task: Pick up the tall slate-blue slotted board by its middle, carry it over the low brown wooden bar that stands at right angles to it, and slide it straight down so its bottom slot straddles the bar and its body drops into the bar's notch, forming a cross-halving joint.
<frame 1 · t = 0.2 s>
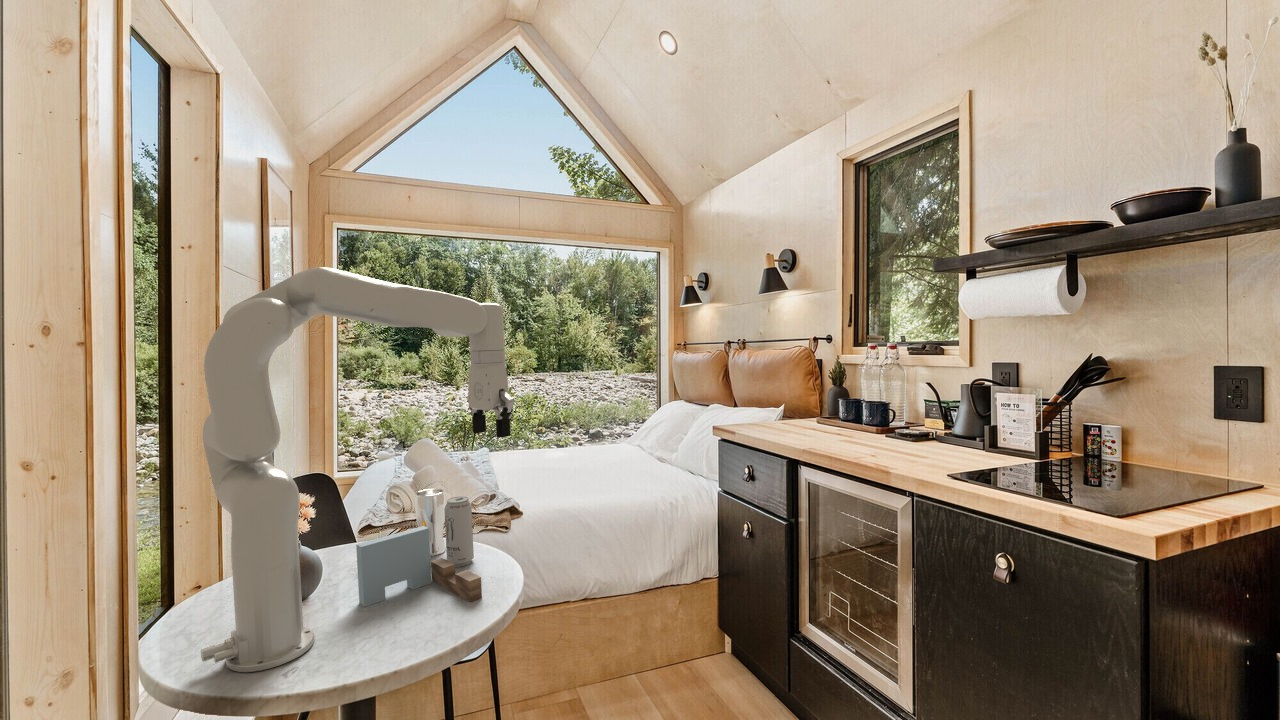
hand: (491, 434, 128), 31 cm above the table, fingers open, 9 cm apart
shiny metal tumbler: (432, 552, 141), on the table
bread roll: (381, 571, 131), on the table
blue board: (396, 592, 119), on the table
brown wooden bar: (455, 588, 120), on the table
energy drink can: (460, 563, 134), on the table
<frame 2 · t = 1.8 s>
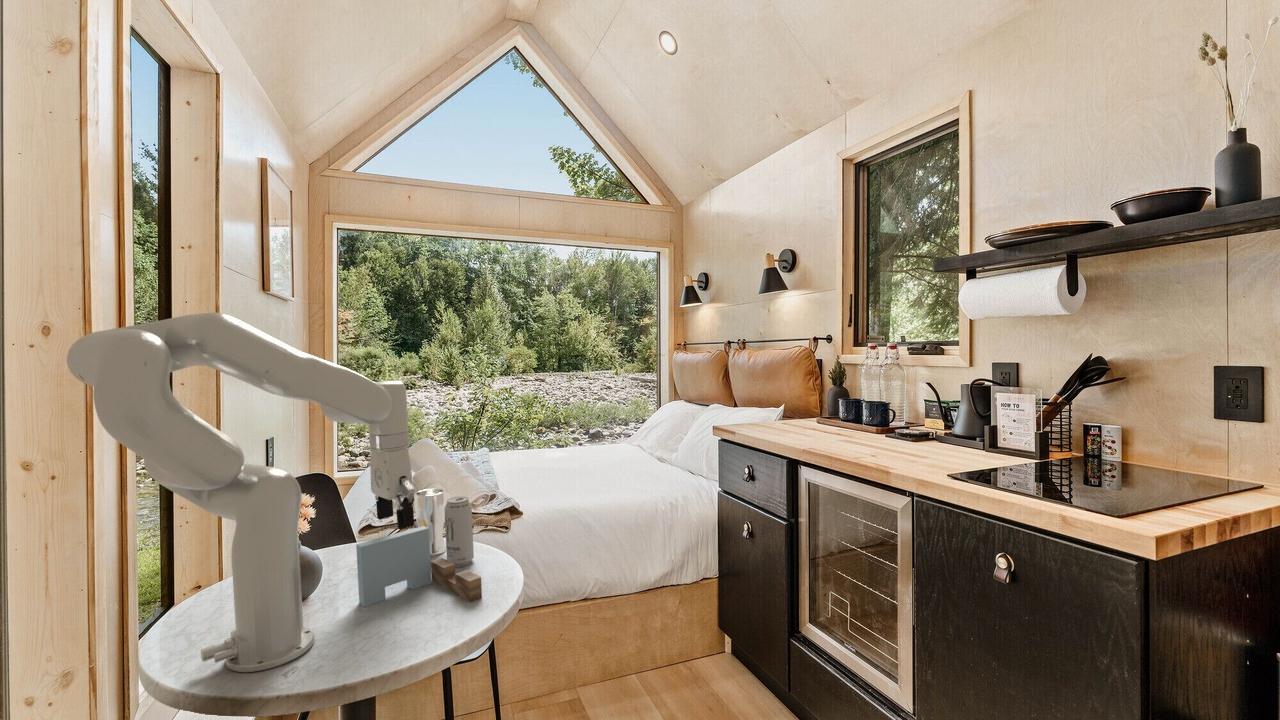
hand: (395, 522, 119), 15 cm above the table, fingers open, 9 cm apart
nothing on the table moved.
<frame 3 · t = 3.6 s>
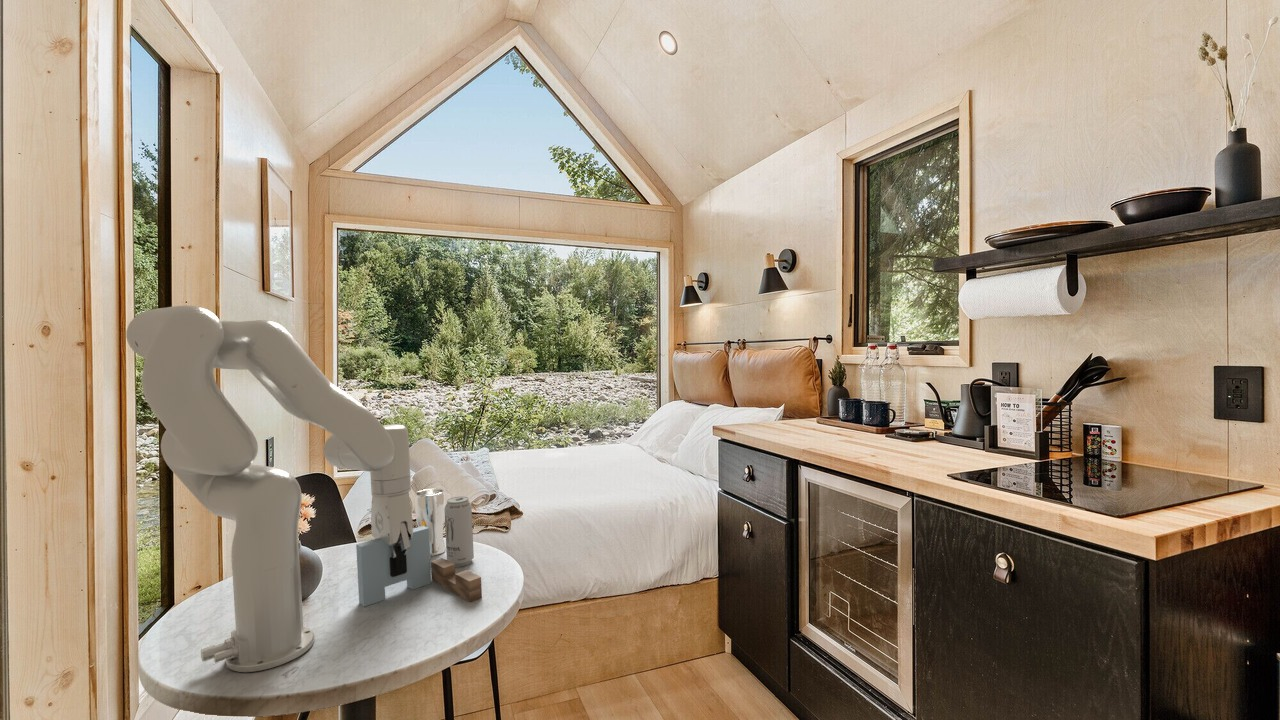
hand: (395, 572, 119), 4 cm above the table, fingers closed on blue board, 2 cm apart
blue board: (396, 592, 119), on the table, touching gripper
everything else where it was.
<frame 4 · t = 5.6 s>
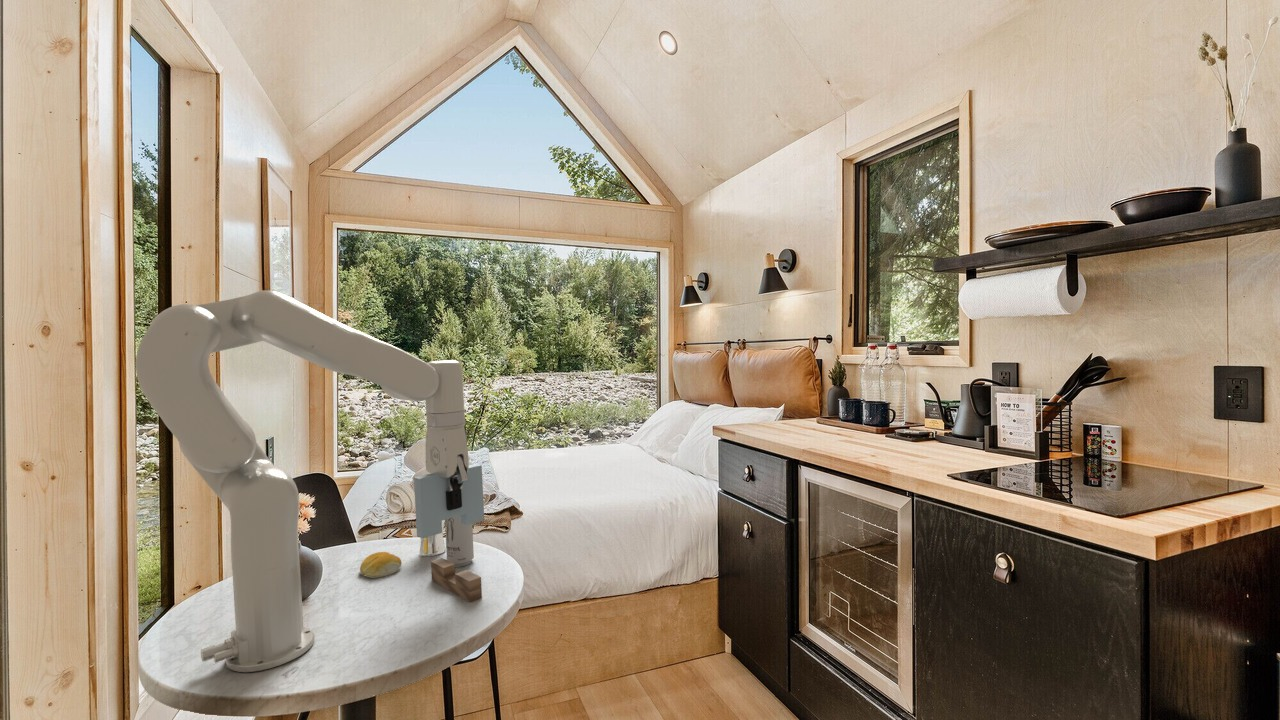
hand: (450, 506, 119), 17 cm above the table, fingers closed on blue board
blue board: (451, 527, 119), point 13 cm above the table, touching gripper
everything else where it was.
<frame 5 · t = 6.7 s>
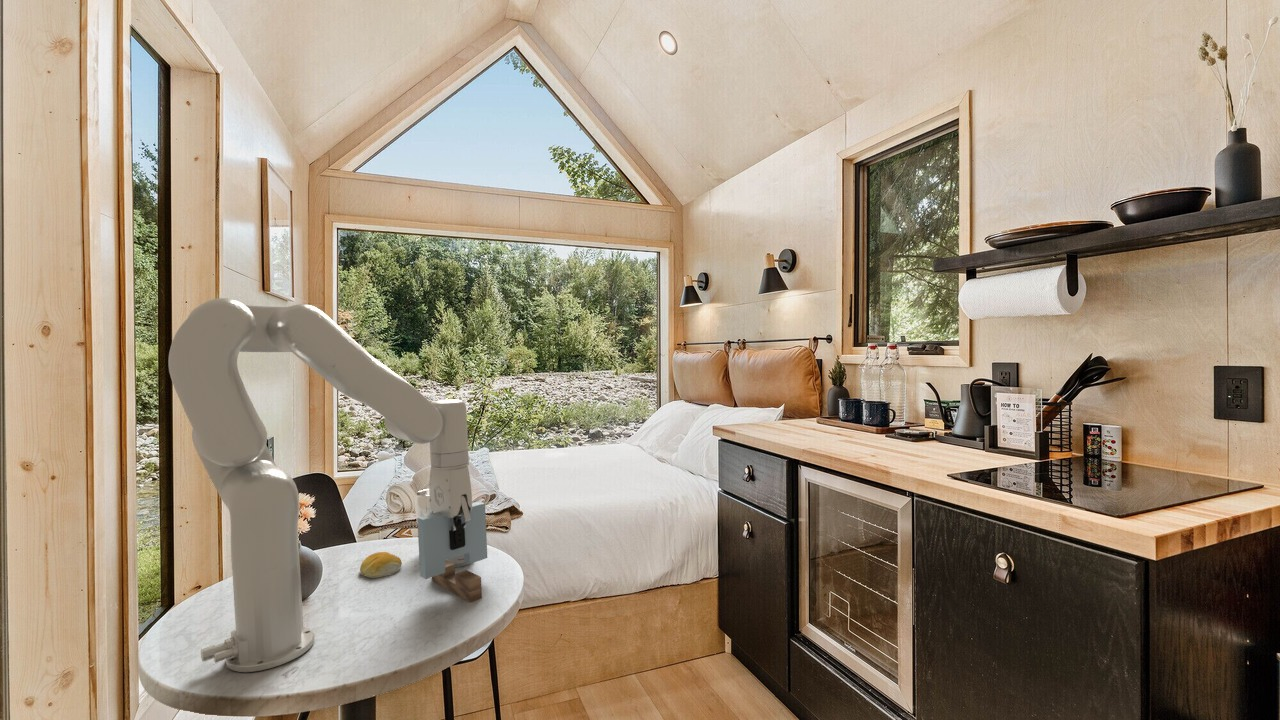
hand: (453, 545, 119), 9 cm above the table, fingers closed on blue board, 2 cm apart
blue board: (455, 566, 120), point 5 cm above the table, touching gripper
everything else where it was.
when the fingers open (6 cm above the table, at t = 7.6 s): blue board stays where it is, on the table.
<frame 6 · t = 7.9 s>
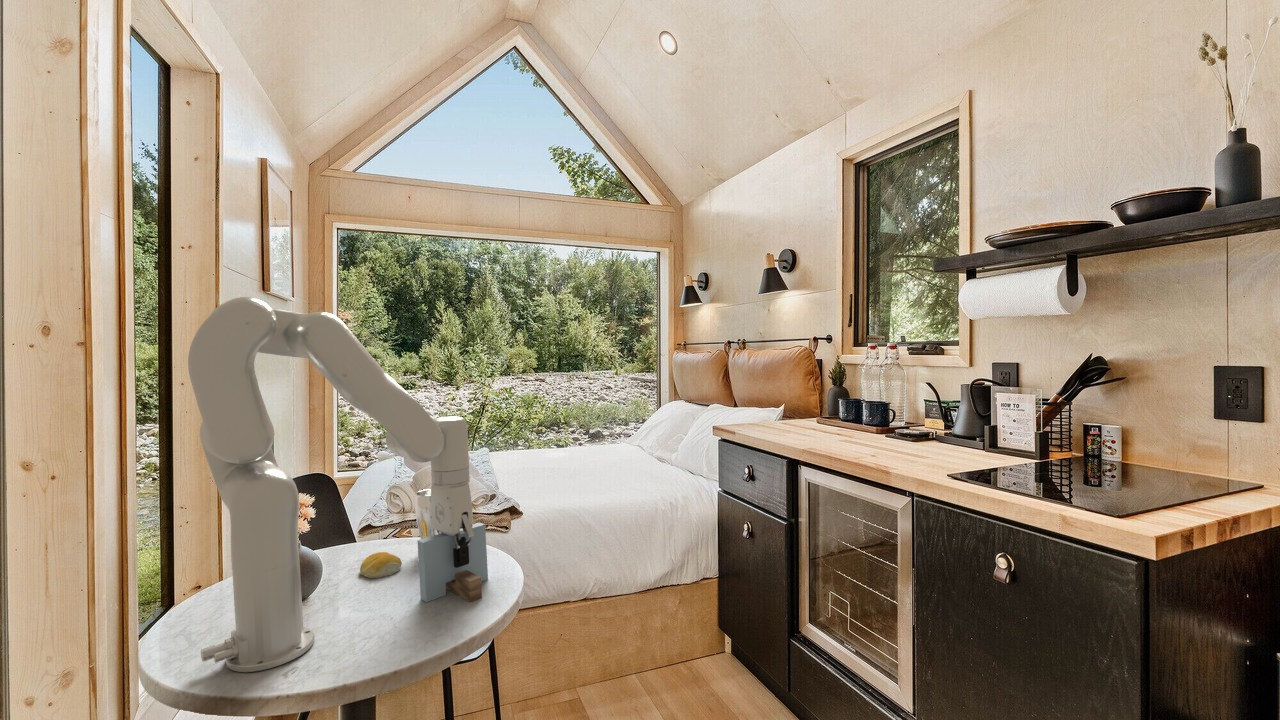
hand: (454, 561, 120), 6 cm above the table, fingers open, 4 cm apart
blue board: (455, 588, 120), on the table
everything else where it was.
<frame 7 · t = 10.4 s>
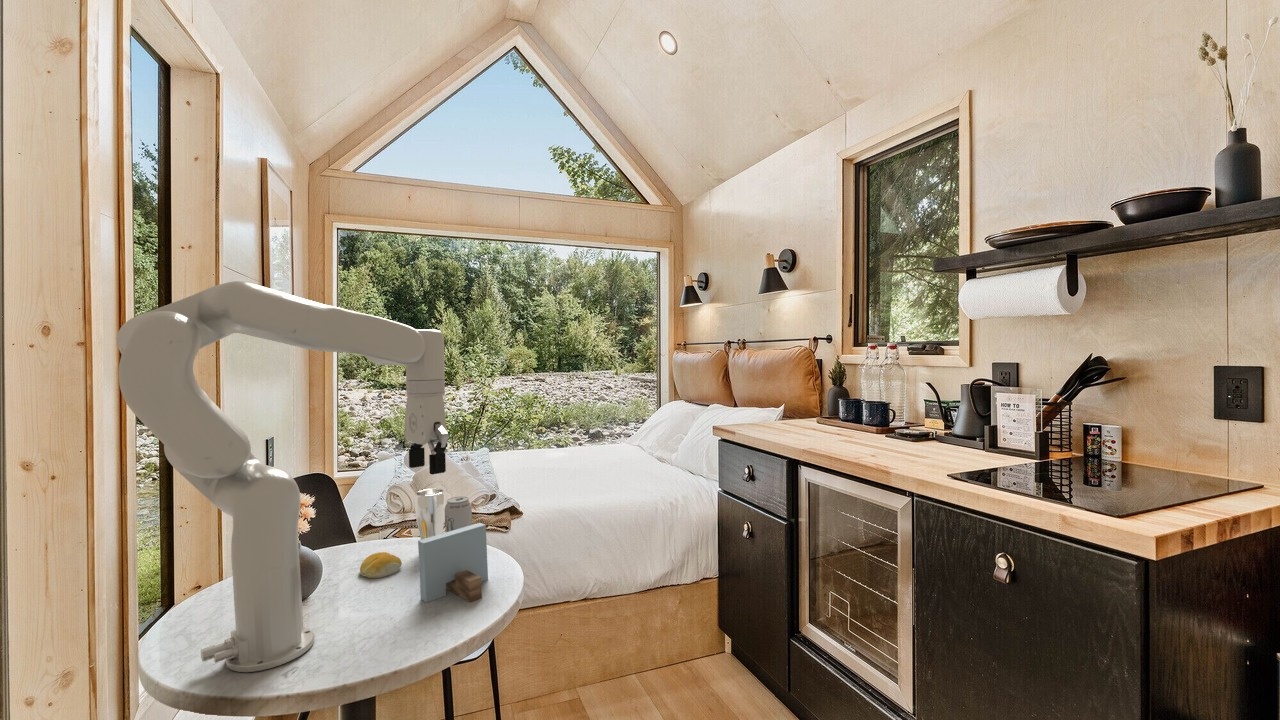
hand: (427, 470, 120), 25 cm above the table, fingers open, 9 cm apart
nothing on the table moved.
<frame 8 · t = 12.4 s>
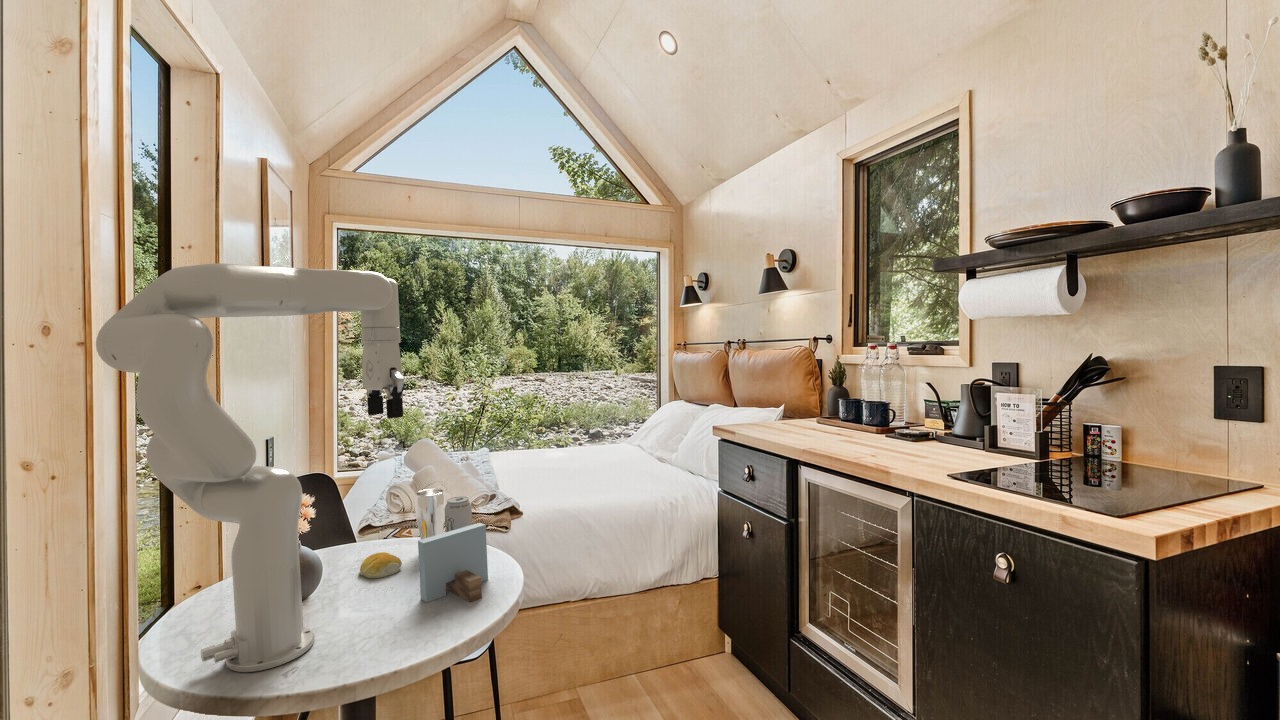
hand: (385, 416, 123), 36 cm above the table, fingers open, 9 cm apart
nothing on the table moved.
at the end: blue board 0.1 cm off-centre on the brown wooden bar, point 0.0 cm above the brown wooden bar's base; blue board tilted 0°; the gripper is holding nothing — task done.
